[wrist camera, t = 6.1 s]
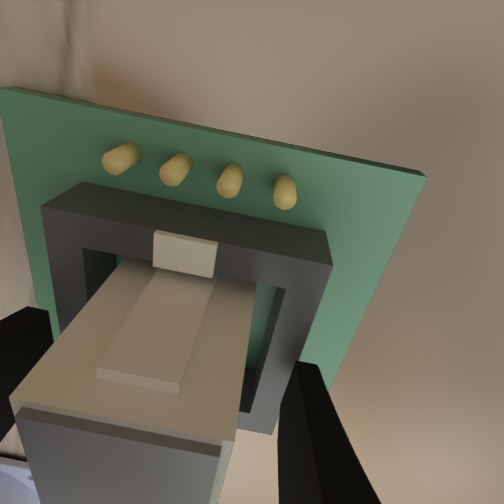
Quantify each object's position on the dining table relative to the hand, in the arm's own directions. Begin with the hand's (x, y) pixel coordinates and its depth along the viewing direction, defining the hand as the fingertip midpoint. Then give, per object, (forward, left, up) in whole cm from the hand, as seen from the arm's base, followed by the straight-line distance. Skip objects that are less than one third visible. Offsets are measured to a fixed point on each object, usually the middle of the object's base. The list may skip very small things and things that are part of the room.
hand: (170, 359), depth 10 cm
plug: (0, 0, -3) cm, 3 cm away
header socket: (0, 0, -3) cm, 3 cm away
